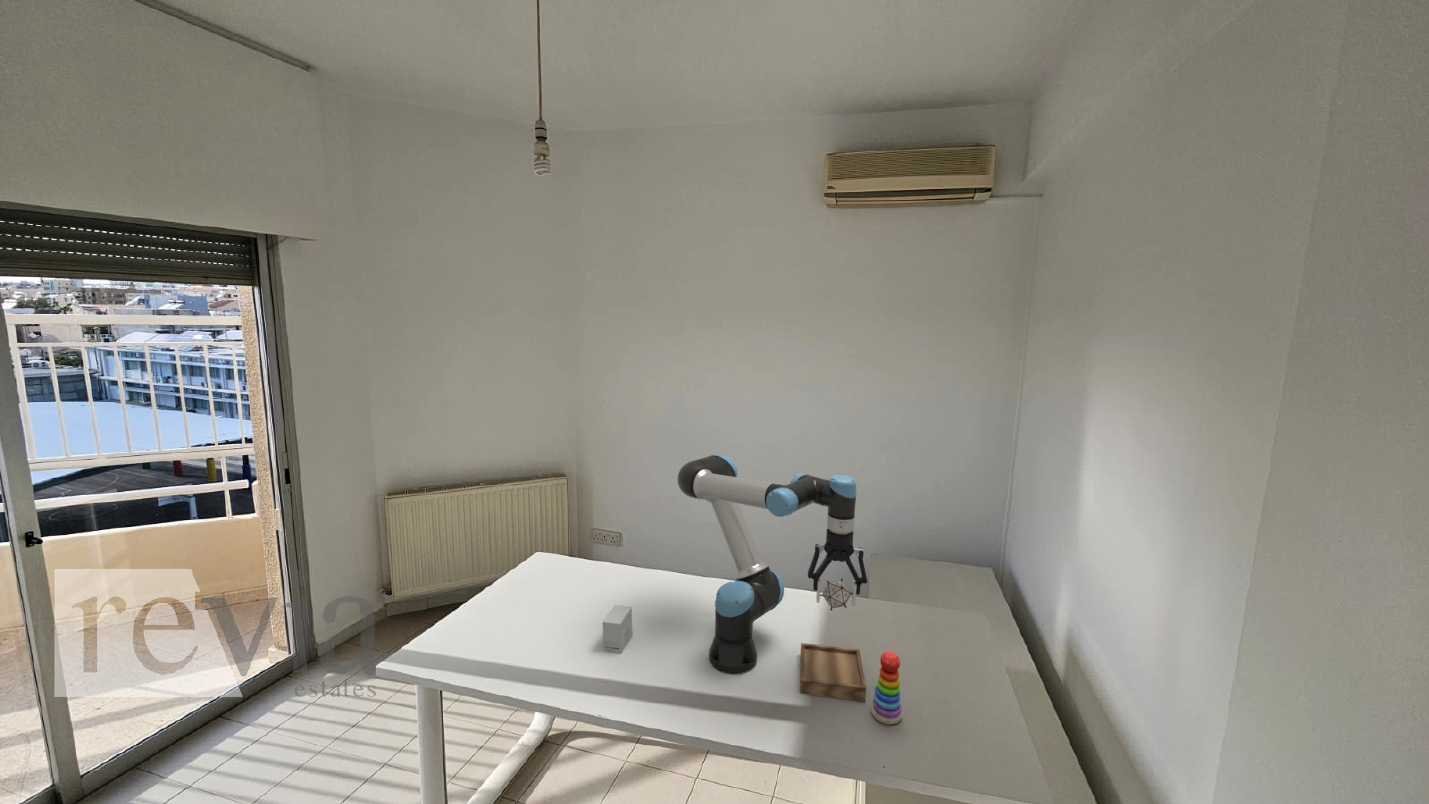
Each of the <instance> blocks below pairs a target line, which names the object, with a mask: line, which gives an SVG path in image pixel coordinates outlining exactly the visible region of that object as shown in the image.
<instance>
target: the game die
mask: <svg viewBox="0 0 1429 804" xmlns="http://www.w3.org/2000/svg"><path fill="white" fill-rule="evenodd" d="M826 583H827V585H826V587H825V588H824V591H823V593H820V597H823V598H824V600H825V601H826V602H827V604H828V605H829V607H830V609H829V610H830V611H833V609H836V608H840V607H844V608H845V609H847V603H848V601H849V599H850V597H851V596H852V594H853V592H852V591H850V590H849V589H848V587H847V586H846V584H845V583H844V582H843V578H841V579H840V580H838V581H832V582H830V581H829V580H826Z"/></svg>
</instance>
